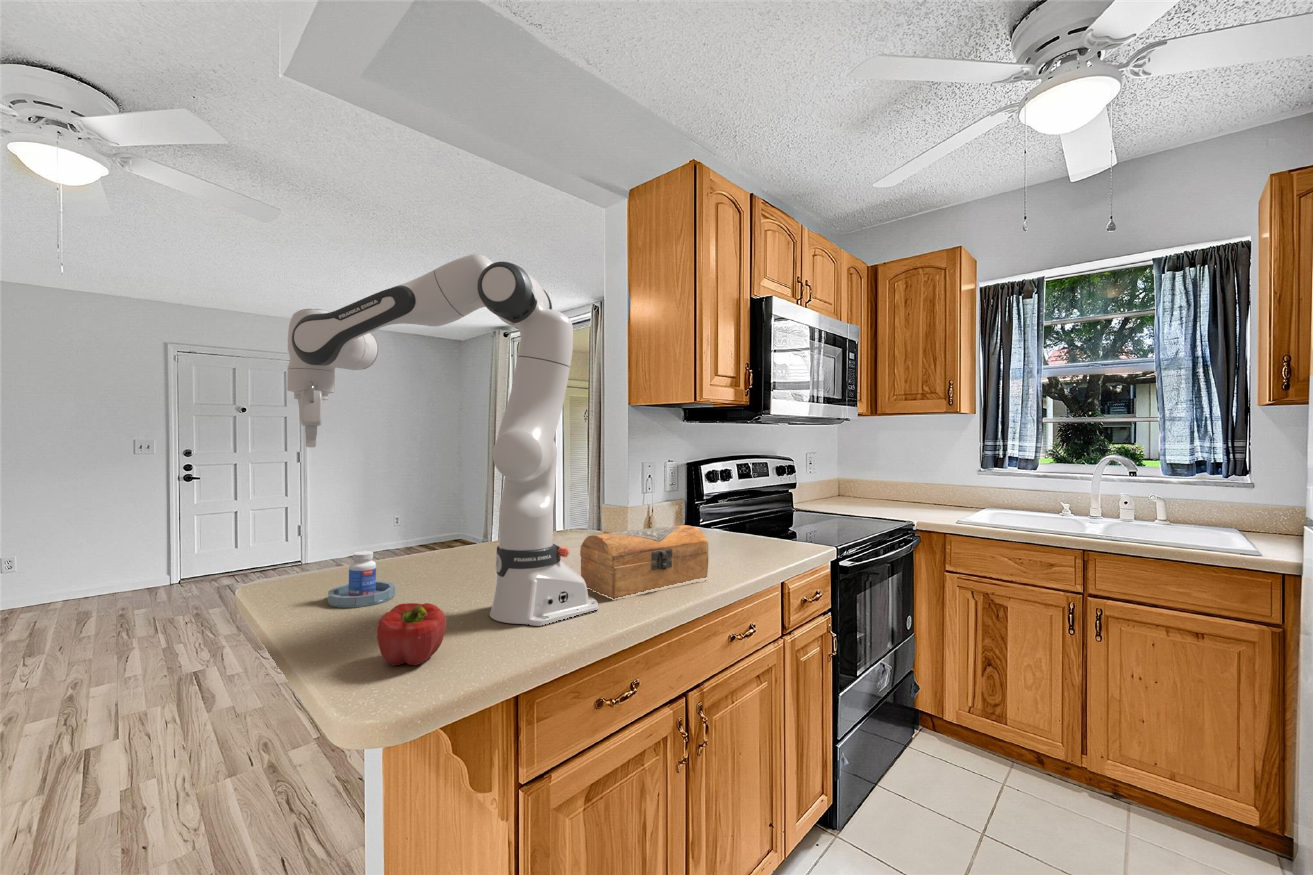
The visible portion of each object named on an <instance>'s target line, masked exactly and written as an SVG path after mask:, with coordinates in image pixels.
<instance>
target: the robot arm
mask: <svg viewBox="0 0 1313 875" xmlns="http://www.w3.org/2000/svg"><path fill="white" fill-rule="evenodd" d="M482 308H486V309H487V310H488V311H490V312H491V313H493V314H494V315H496V316H497V317H498V318H499V319H500V320H501V321H502V322H504V323H505V324H507V325H509V326H511V327H513V328H515V329H516V330H519V333H520V343H519V348H518V353H517V358H516V364H515V369H514V373H513V374H514V375H513V377H512V378H513V379H512V385H511V391H510V394H509V398H508V402H507V405H506V407H505V411H504V412H503V415H502V416H503V417H502V419H501V421H500V425H499V430H498V434H497V438H496V441H495V444H494V446H493V449H492V459H493V463H494V466H495V468H496V469H497V471H498V472H499V473H500V474H501V475H502V476H503V477H504V480H503V488H502V494H501V499H500V505H499V508H498V509H499V510H498V512H499V514H498V517H499V518H498V545H497V546H496V554H495V572H496V574H497V576H496V583H495V584H496V585H495V592H494V596H493V597H494V598H493V601H492V606H491V609H490V612H489V616H490V618H491V619H492V620H495V621H496V622H501V623H505V624H515V625H516V624H519V625H520V624H521V625H528V624H529V625H530V626H533V627H534V626H535V627H543V626H545V624H546V625H549V623H550V624H552V622H554V623H556V621H557V622H559V621H558V620H561V621H564V620H563V619H565V620H568V619H570V618H569V617H572V618H575V617H574V616H576V615H579V614H582V613H586V612H588V611H594V610H597V609H598V610H599V603H598V601H597V600H596V599H595V598H594V597H592V596H591V595H589V594H588V593H589V592H588V591H589V590H588V589H587V586H586V583H585V580H584V579H583V577H582V576H581V574H579V573H578V572H576V571H575V570H574V569H573V568H571V567H570V566H569V565H568V564H566V563H564V562H563V561H562V560H561V558H568V557H569V555H570V549H569V548H567V547H566V546H559V545H557V544H555V543H554V505H555V504H554V503H555V494H556V493H555V491H556V478H557V465H558V464H557V463H558V447H557V444H556V442H555V437H556V432H557V429H558V425H559V420H560V416H561V413H562V410H563V407H564V405H565V404H564V403H565V397H566V392H567V388H568V383H569V377H570V371H571V365H572V361H573V360H572V359H573V352H574V351H573V348H574V327H573V323H572V321H571V319H570V318H569V317H568V316H567V315H566V314H564V313H562V312H560V311H558V310H556V309H553V303H552V300H551V298H550V295H549V294H548V292H546V291H545V289H543V288H542V285H540V284H539V282H538V281H537V280H536V278H534V277H533V276H532V275H531V274H530V273H528V272H526V271H525V269H524V268H522V267H521V266H519V265H517V264H514V263H512V262H508V261H497V262H493V261H492V260H490V258H488V257H487V256H486V255H483V254H479V253H473V254H469V255H466V256H462V257H459V258H457V259H456V258H455V259H454V260H452V261H449V262H447V263H444V264H443V265H441V266H439V267H437V268H435V269H432V270H431V271H429V272H428V273H425V274H422V275H421V276H418V277H417V278H414V279H412V280H409V281H407V282H404V283H402V284H401V283H400V284H398V285H395V286H392V287H390V288H386V289H384V290H381V291H379V292H376V293H373V294H371V295H369V296H366V297H364V298H362V299H359V300H357V301H355V302H352V303H351V304H348V305H346V306H343V307H340V308H338V309H336V310H333V311H330V312H329V311H328V310H325V309H320V308H305V309H301V310H297V311H296V312H294V313H293V314H292V316H291V318H290V320H289V325H288V331H287V332H288V333H287V352H288V354H289V362H288V365H287V368H286V369H287V373H286V374H287V375H286V377H287V378H286V379H287V380H286V382H287V384H286V386H287V388H286V390H287V391H288V392H292V393H293V395H294V396H293V399H295V400H297V402H298V410H299V411H298V412H299V418H300V424H301V426H304V431H305V432H304V434H305V446H306V448H316V446H317V435H318V427H319V426H321V425H322V423H323V405H324V401H328V400H329V394H334V393H335V388H336V387H335V386H336V385H335V381H336V380H335V378H336V376H335V375H336V374H335V373H336V371H335V370H336V368H338V369H344V370H351V371H362V370H365V369H368V368H370V367H371V366H372V365H374V363H375V361H376V360H377V357H378V353H379V345H378V342H377V339H376V337H375V336H374V335H373V334H372V332H375V331H377V330H379V329H381V328H382V329H383V327H384V328H385V327H387V326H392V325H399V324H401V325H402V324H403V325H405V324H406V325H418V326H427V327H437V328H438V327H441V326H445V325H449V324H451V323H454V322H456V321H458V320H460V319H463V318H464V317H466V316H468V315H470V314H471V313H473V312H475V311H477V310H479V309H482ZM598 610H597V611H598ZM594 612H595V611H594ZM579 616H580V615H579ZM576 617H577V616H576ZM567 618H568V619H567ZM529 625H528V626H529ZM542 625H543V626H542Z"/></svg>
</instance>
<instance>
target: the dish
mask: <svg viewBox="0 0 1313 875" xmlns="http://www.w3.org/2000/svg"><path fill="white" fill-rule="evenodd" d="M348 589H349V583H346V584H343V585H338V586H336V587H334V588H332V589H330V590H328V591H327V594H328V595H327V601H328V602H327V603H328V606H331V607H333V608H339V609H355V608H364V607H371V606H375V605H379V604H382V603H386V602H388V601H391V600H392V599H393V598H394V597H395V594H396V585H395V584H394V583H393V582H389V581H384V580H379V581H378V580H376V592H375V594H370V595H362V596H348Z"/></svg>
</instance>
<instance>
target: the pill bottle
mask: <svg viewBox="0 0 1313 875" xmlns="http://www.w3.org/2000/svg"><path fill="white" fill-rule="evenodd" d="M373 559H374V552H373V551H372V550H371V551H370V550H369V551H368V550H364V551H356V552H353V553H352V560H353V562H351V563H350V564H349V566H348V584H349V589H348V596H362V595H370V594H375V592H376V581H377V563H376V561H374V560H373Z"/></svg>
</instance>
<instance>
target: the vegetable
mask: <svg viewBox="0 0 1313 875" xmlns="http://www.w3.org/2000/svg"><path fill="white" fill-rule="evenodd" d="M446 628H447V619H446V614H445V612H443V611H442V610H441V608H440V607H438V605H435V604H433V603H428V602H427V603H416V602H415V603H413V602H412V603H411V602H409V603H407V602H406V603H400V604H397V605H395V606H394V607H392V608H391V610H389V611H388V612H385V613H384V614H383V615H381V618H380V619H379V620H378V622H377V628H376V634H377V635H376V636H377V637H376V638H377V643H378V648H379V652H380V655H381V657H382V659H384V661H385V662H387V663H388V664H389V665H392V666H399V665H404V664H405V663H406V664H408V665H409V666H417V665H420V664H423V663H425V662H426V661H427V660H429V658H430V657H432V656H433V655H435V653H436V652H437V651H438V650H439V648H440V647H441V645H442V642H443V640H444V636H445V633H446Z"/></svg>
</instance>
